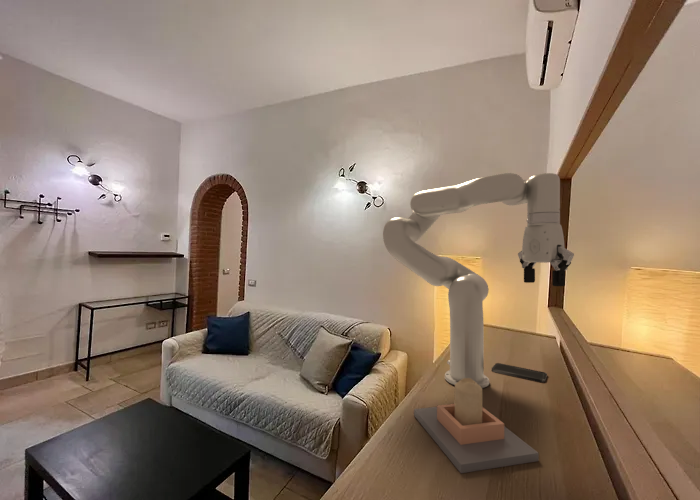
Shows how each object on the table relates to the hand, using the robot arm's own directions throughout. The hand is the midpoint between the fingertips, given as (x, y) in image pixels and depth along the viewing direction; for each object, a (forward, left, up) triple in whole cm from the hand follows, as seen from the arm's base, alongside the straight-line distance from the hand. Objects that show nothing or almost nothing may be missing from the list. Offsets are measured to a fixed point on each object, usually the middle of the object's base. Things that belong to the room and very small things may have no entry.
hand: (543, 284), depth 85 cm
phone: (-16, +6, -31) cm, 35 cm away
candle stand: (+12, -30, -30) cm, 44 cm away
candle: (+12, -30, -29) cm, 43 cm away
